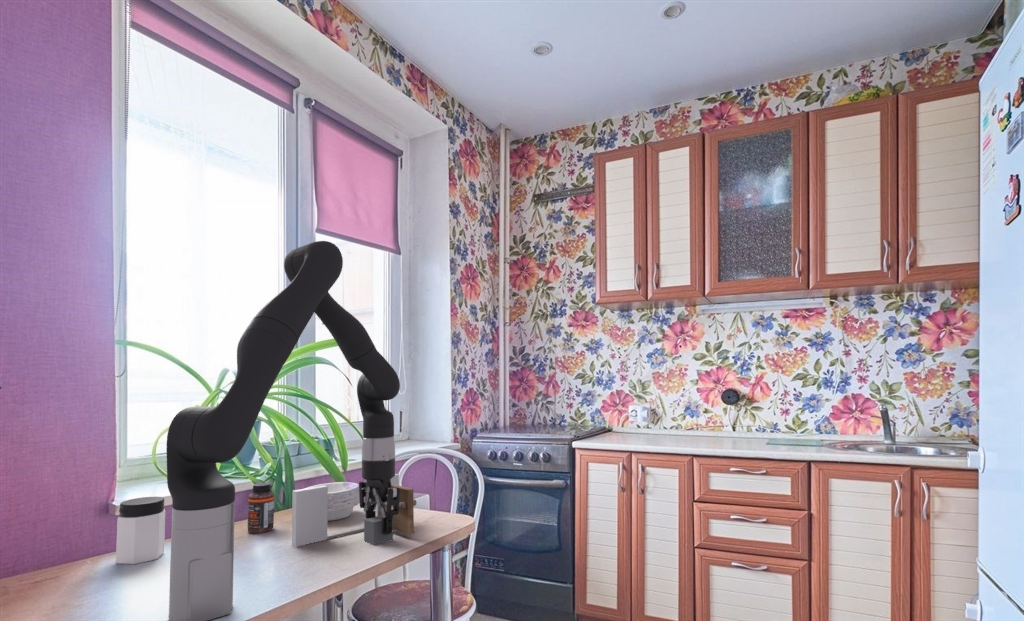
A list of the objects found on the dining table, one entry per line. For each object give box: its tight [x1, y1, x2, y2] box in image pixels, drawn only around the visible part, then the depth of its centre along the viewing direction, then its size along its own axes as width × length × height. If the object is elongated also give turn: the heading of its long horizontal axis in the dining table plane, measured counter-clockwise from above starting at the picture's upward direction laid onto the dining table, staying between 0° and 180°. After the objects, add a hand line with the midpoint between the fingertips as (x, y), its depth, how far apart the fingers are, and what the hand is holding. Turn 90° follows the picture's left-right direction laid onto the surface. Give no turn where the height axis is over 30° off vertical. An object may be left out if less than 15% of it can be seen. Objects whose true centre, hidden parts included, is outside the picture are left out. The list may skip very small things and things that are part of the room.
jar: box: [115, 496, 166, 565], centre depth 125 cm, size 9×8×12 cm
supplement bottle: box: [247, 482, 275, 534], centre depth 144 cm, size 6×6×11 cm
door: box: [378, 484, 418, 535], centre depth 140 cm, size 4×14×10 cm, turn 44°
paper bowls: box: [306, 481, 360, 522], centre depth 156 cm, size 15×15×8 cm
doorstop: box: [363, 515, 394, 546], centre depth 133 cm, size 4×5×5 cm
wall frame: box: [291, 473, 400, 548], centre depth 140 cm, size 2×27×12 cm, turn 134°
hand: (378, 530), depth 133 cm, fingers open, 6 cm apart
